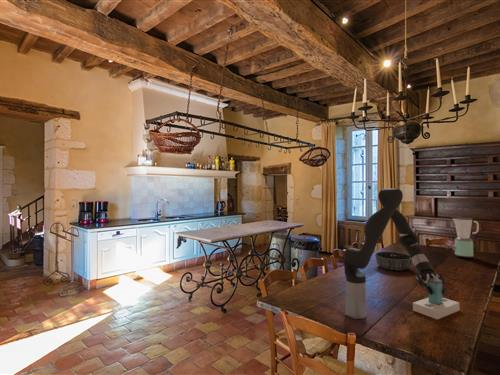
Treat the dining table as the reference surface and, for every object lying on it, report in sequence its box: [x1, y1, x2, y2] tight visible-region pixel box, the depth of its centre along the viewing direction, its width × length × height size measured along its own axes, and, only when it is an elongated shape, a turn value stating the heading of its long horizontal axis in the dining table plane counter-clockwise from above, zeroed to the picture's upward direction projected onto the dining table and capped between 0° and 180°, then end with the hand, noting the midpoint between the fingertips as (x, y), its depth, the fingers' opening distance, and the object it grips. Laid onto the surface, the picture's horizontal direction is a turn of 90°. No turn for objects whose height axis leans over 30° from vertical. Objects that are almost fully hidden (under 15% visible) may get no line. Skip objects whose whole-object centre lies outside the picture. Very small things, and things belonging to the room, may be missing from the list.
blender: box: [451, 216, 480, 260], centre depth 257 cm, size 19×13×35 cm
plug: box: [428, 277, 443, 305], centre depth 151 cm, size 4×4×14 cm
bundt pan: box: [374, 251, 412, 272], centre depth 229 cm, size 26×26×10 cm
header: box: [412, 296, 460, 320], centre depth 151 cm, size 20×12×4 cm, turn 119°
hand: (437, 293), depth 149 cm, fingers closed on plug, 5 cm apart
